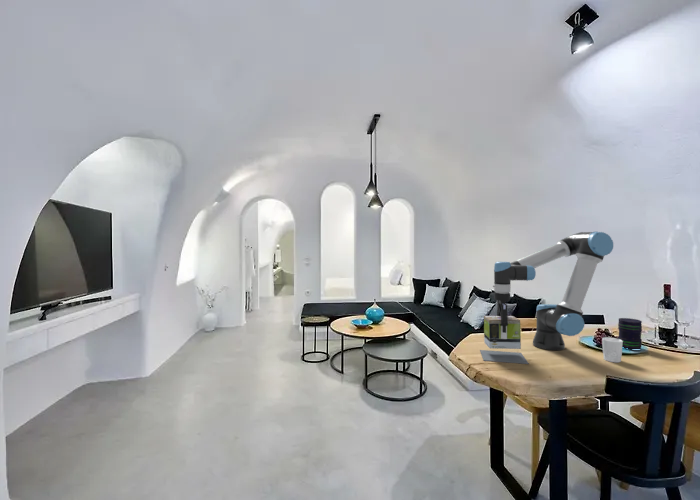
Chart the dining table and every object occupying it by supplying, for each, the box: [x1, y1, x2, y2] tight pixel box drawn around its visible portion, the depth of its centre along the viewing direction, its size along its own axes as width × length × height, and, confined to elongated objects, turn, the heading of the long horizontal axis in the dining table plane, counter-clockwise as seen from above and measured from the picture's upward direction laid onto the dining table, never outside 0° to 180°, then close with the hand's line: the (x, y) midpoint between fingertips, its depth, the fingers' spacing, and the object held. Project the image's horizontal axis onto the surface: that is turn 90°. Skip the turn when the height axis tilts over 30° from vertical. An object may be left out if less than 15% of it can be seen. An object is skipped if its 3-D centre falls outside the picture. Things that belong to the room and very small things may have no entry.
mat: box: [479, 349, 530, 365], centre depth 172 cm, size 20×16×1 cm
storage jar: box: [617, 317, 643, 350], centre depth 185 cm, size 10×10×15 cm
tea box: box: [483, 315, 522, 350], centre depth 174 cm, size 15×10×15 cm, turn 83°
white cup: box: [601, 336, 623, 363], centre depth 166 cm, size 8×8×10 cm
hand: (501, 335), depth 174 cm, fingers closed on tea box, 10 cm apart
